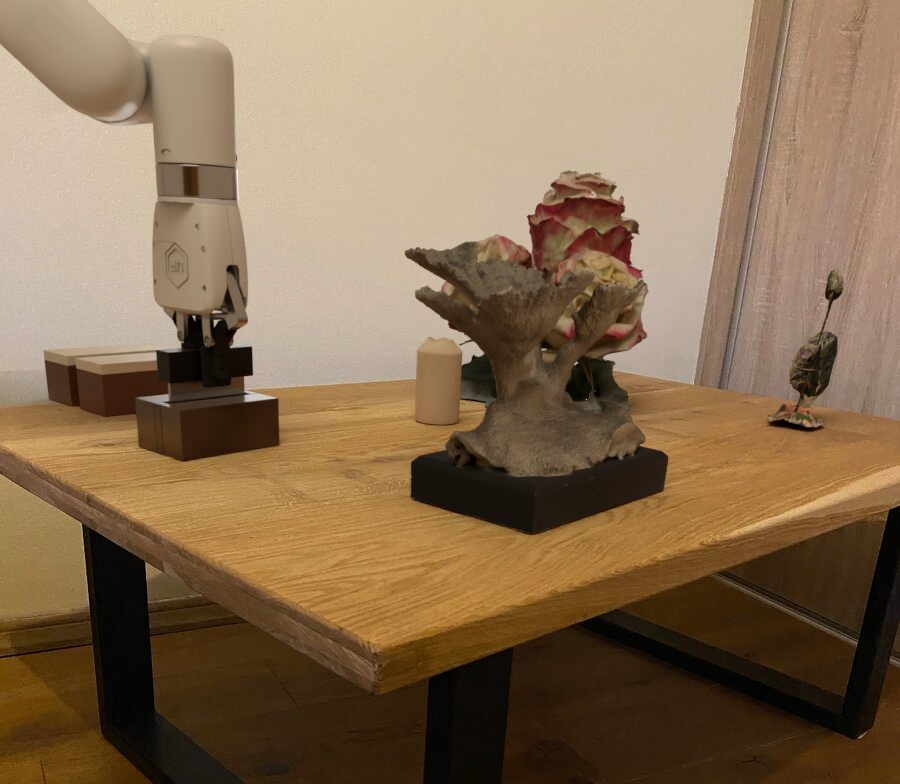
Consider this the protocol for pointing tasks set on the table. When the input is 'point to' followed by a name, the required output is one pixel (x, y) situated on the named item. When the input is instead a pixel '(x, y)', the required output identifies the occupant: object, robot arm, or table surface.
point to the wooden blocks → (103, 377)
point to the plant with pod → (813, 366)
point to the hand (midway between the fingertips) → (207, 382)
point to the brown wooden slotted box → (207, 425)
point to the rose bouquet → (572, 248)
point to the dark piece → (186, 373)
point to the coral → (531, 401)
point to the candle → (438, 382)
